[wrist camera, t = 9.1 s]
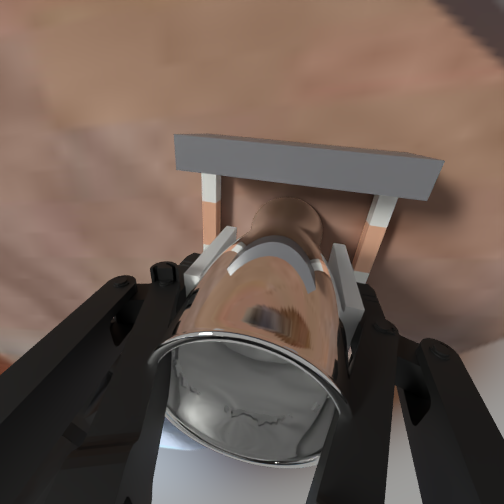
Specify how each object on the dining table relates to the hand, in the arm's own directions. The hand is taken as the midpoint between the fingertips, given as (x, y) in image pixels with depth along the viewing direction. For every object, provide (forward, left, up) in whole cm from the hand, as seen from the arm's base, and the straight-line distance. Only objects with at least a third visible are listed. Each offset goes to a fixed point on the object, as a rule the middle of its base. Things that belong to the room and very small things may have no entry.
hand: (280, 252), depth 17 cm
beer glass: (0, 0, -4) cm, 4 cm away
